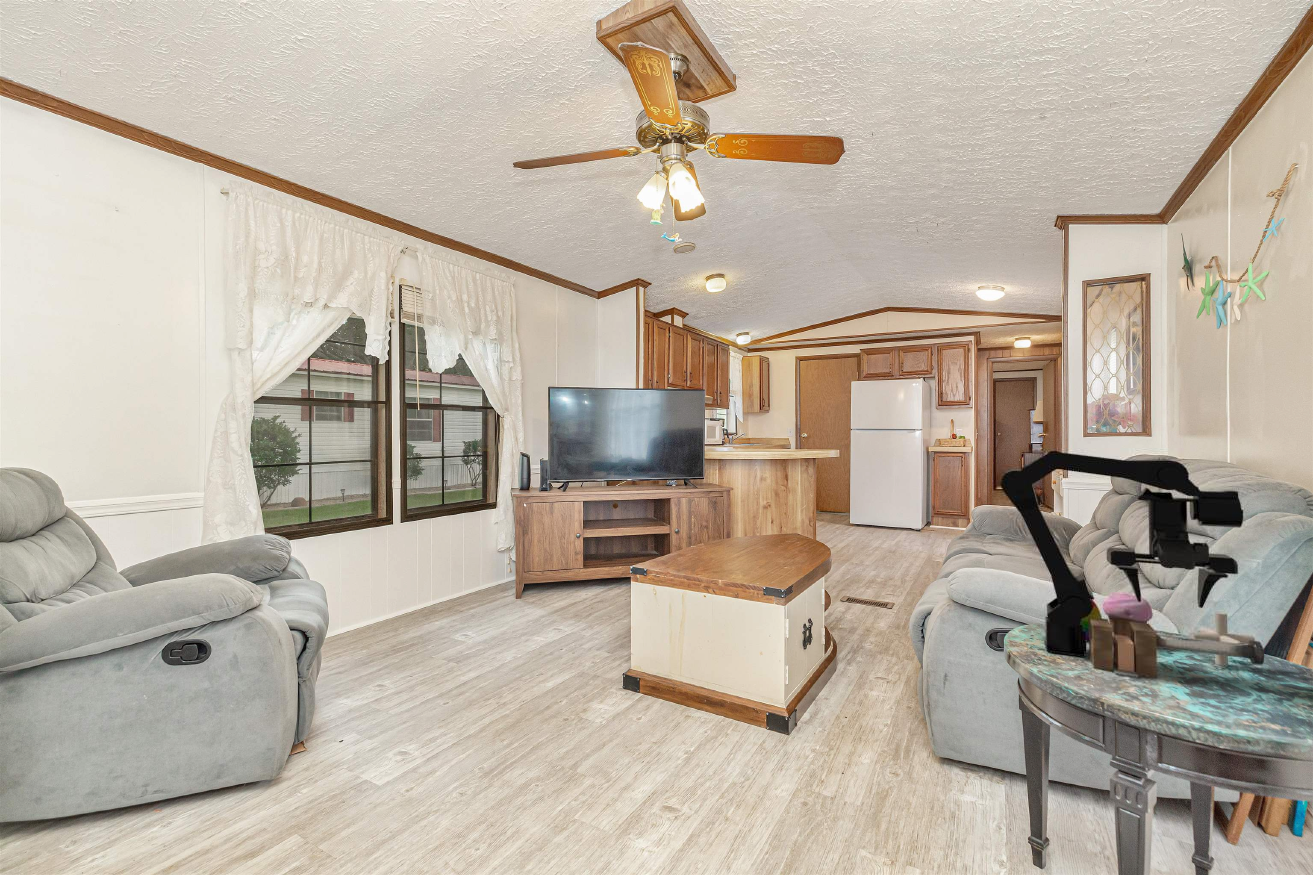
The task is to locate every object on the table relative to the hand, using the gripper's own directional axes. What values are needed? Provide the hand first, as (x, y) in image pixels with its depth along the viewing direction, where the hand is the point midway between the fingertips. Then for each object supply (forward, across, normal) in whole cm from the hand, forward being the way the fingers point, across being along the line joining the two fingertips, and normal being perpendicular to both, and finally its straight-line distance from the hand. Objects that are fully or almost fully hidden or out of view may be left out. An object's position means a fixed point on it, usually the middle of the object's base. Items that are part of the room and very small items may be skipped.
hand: (1169, 604), depth 115 cm
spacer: (+12, -8, -5) cm, 15 cm away
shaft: (+8, +3, -5) cm, 10 cm away
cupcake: (+12, -4, +16) cm, 21 cm away
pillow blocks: (+12, -8, -5) cm, 15 cm away
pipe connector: (+12, +9, +6) cm, 16 cm away
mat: (+12, -8, -5) cm, 15 cm away
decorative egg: (+12, -13, +13) cm, 22 cm away
